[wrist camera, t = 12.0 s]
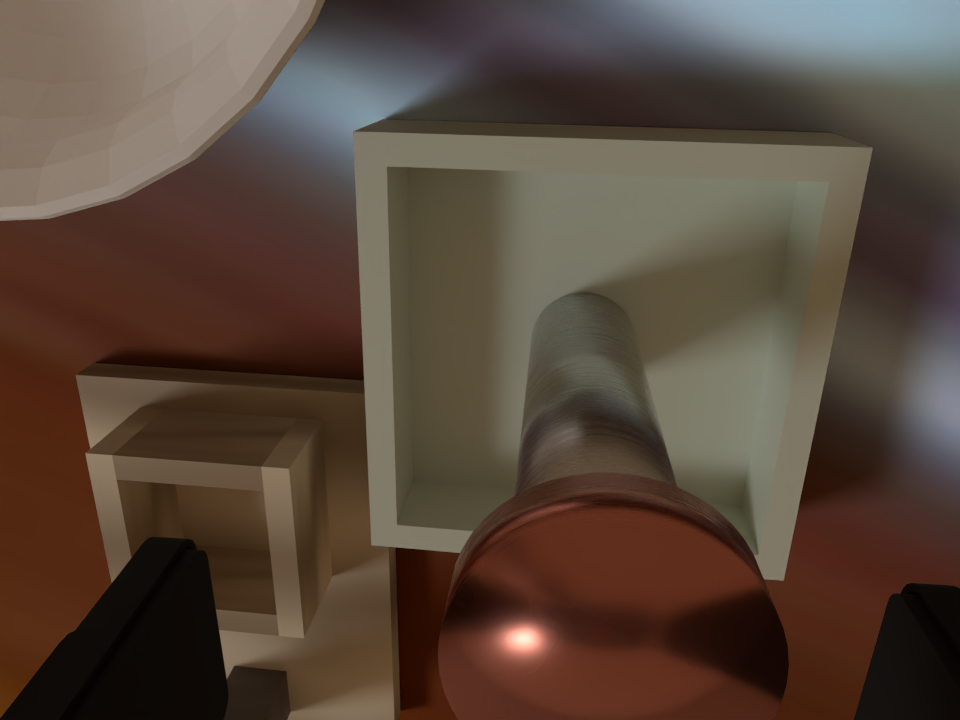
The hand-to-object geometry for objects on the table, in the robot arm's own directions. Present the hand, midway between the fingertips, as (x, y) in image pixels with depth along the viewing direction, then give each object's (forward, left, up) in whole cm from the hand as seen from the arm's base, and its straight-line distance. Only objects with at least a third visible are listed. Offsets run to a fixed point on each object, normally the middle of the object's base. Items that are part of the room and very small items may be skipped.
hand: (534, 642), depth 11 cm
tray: (0, +1, -14) cm, 13 cm away
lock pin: (0, +1, -13) cm, 13 cm away
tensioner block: (+9, -10, -14) cm, 19 cm away
